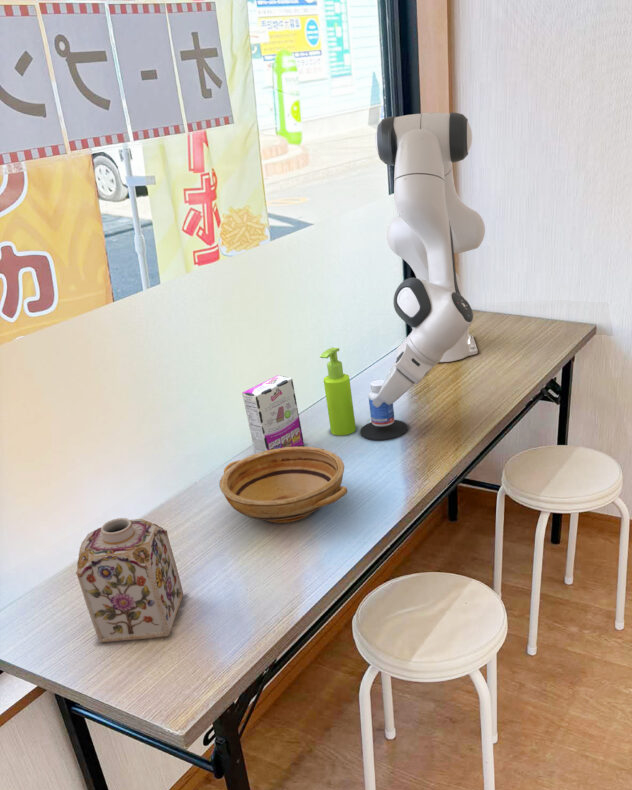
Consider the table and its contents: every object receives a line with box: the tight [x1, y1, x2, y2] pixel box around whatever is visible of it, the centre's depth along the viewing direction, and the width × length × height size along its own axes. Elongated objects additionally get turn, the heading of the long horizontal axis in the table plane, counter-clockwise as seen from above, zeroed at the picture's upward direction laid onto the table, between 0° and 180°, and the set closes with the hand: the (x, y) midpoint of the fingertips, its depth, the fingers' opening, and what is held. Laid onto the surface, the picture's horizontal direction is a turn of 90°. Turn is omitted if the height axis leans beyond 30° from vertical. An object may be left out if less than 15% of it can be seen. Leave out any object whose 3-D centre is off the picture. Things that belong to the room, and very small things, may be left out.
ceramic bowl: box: [219, 446, 348, 524], centre depth 167 cm, size 30×24×8 cm
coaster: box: [359, 419, 408, 442], centre depth 198 cm, size 11×11×1 cm
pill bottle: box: [368, 379, 395, 426], centre depth 195 cm, size 6×5×10 cm
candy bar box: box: [241, 375, 305, 454], centre depth 189 cm, size 11×5×16 cm, turn 143°
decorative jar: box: [75, 517, 184, 644], centre depth 136 cm, size 12×12×18 cm
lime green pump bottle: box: [319, 346, 357, 437], centre depth 195 cm, size 6×7×20 cm
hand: (377, 398), depth 194 cm, fingers closed on pill bottle, 5 cm apart
